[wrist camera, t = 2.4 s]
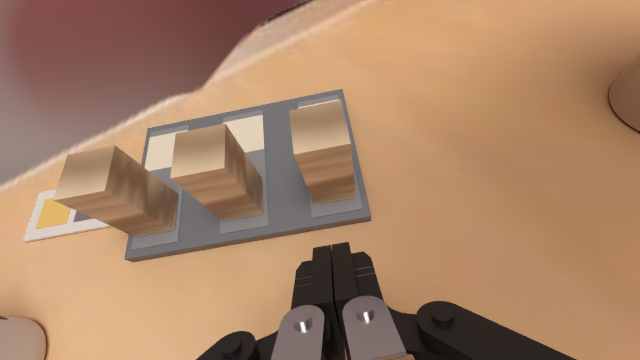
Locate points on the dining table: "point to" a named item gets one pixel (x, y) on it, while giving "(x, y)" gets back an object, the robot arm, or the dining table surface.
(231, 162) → the block
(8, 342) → the milk bottle
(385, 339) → the robot arm
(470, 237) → the dining table surface
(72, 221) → the card
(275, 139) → the toggle board
